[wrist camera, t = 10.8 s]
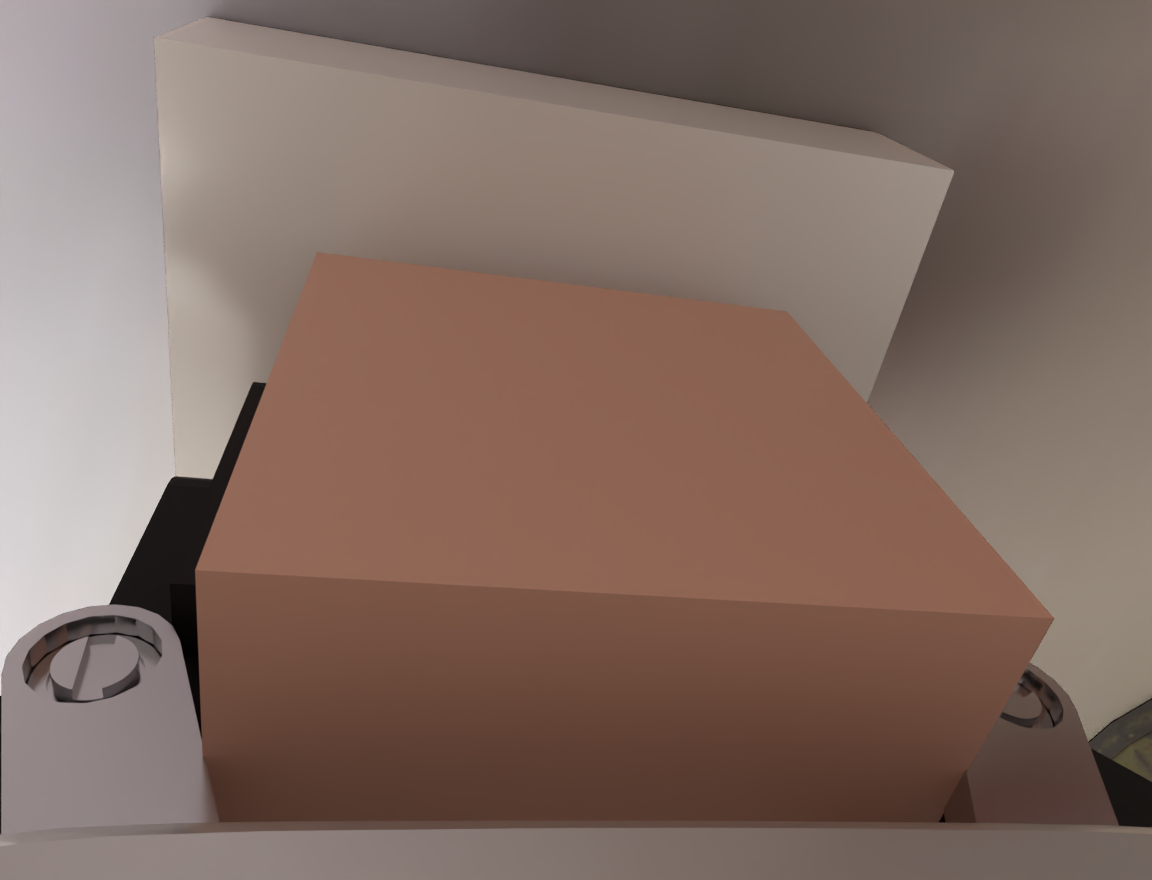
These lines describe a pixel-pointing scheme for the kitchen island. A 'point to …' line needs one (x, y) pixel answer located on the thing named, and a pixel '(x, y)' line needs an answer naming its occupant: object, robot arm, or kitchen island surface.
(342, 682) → the cube
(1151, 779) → the thermos
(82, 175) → the kitchen island surface
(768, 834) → the robot arm
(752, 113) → the block
